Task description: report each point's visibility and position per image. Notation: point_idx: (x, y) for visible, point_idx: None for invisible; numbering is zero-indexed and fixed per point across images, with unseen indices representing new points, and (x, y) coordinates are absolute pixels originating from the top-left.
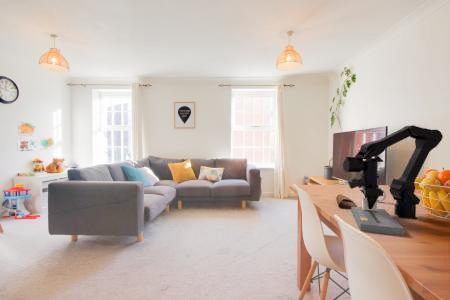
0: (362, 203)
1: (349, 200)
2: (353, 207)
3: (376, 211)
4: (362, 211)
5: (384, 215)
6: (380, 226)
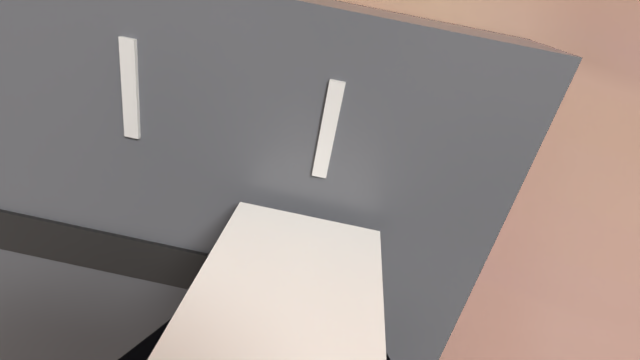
0: (334, 298)
1: None
2: (488, 85)
3: None
4: (177, 155)
5: (73, 352)
6: None
